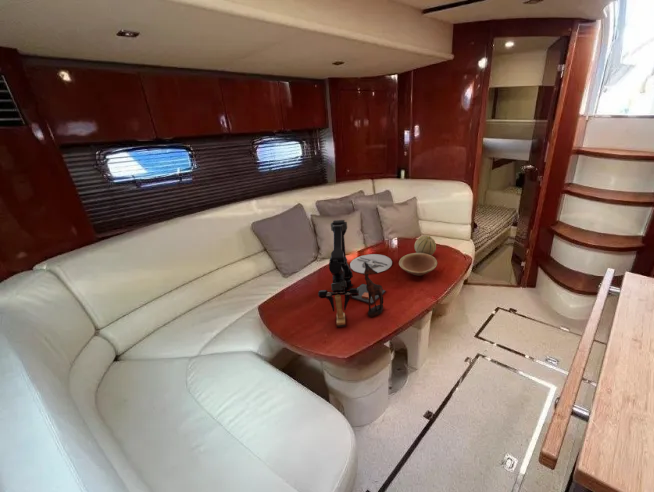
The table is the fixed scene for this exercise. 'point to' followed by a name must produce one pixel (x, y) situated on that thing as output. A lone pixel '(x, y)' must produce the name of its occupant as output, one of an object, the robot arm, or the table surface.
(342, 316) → the tan wooden tall post
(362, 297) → the block
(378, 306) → the statue
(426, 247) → the cantaloupe
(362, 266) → the plate
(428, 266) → the bowl
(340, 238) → the robot arm
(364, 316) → the table surface
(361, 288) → the board
